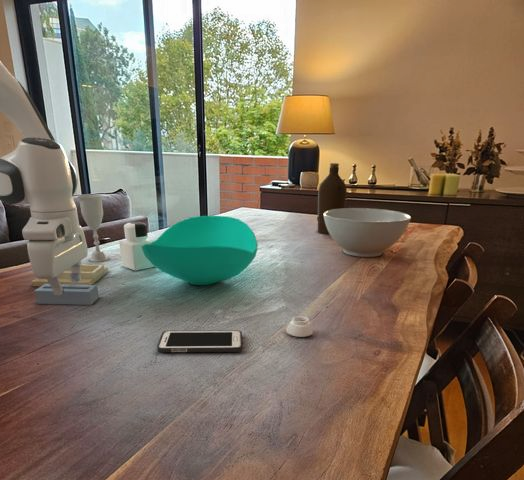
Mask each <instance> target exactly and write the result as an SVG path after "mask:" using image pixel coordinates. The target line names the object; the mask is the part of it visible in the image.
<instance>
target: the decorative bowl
mask: <svg viewBox="0 0 524 480" xmlns="http://www.w3.org/2000/svg"><path fill="white" fill-rule="evenodd" d="M411 219H412V217H411V216H410V214H408V213H405V212H401V211H396V210H391V209H383V208H382V209H381V208H370V207H369V208H367V207H346V208H341V209H332V210H328V211H325V212H324V220H325V224H326V227H327V229H328V232H329V234H328V235H330V237H331V239H332V240H333V241H334V242H335V243H336V244H337V245H338V246H339V247H341V248H342V249H343V250H342V251H343V253H344V254H346V255H349V256H353V257H358V258H359V257H361V258H374V257H375V258H376V257H379V256H382V255H383V252H384V251H386V250H388V249H390V248H391V247H392V246H394V245H395V244H396V243H397V242H398V240H400V239H401V238H402V236H404V233H405V232H406V230H407V228H408V227H409V224H410V222H411Z"/></svg>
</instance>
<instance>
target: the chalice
mask: <svg viewBox="0 0 524 480" xmlns="http://www.w3.org/2000/svg"><path fill="white" fill-rule="evenodd" d="M76 197H77V199H78V200H79V206H80V212H81V213H80V214H81V217H82V218H83V220H84V222H85V224H86V226H87V227H88V228H89V229H90V230H92V232H93V235H92V238H93V239H94V242H93V245H95V249H94V251H92V253H91V256H90V259H89V260H90V262H104V261H107V260H109V258H108V257H107V255H106V253H105V252H104V251H103V250H101V248H100V243H101V242H100V241H99V235H98V230H99V229H100V228H101V225H102V222H103V218H104V209H103V208H104V207H103V200H102V199H103V197H104V196H103V195H102V194H80V195H77V196H76Z"/></svg>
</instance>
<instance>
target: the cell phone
mask: <svg viewBox="0 0 524 480" xmlns="http://www.w3.org/2000/svg"><path fill="white" fill-rule="evenodd" d="M156 350H157V352H159V353H231V352H232V353H237V352H241V351H242V350H243V332H242V331H241V330H238V329H235V330H233V329H231V330H229V329H226V330H224V329H221V330H220V329H219V330H218V329H217V330H215V329H214V330H213V329H212V330H209V329H207V330H205V329H204V330H163V331H162V333H161V335H160V338H159V340H158V343H157V346H156Z"/></svg>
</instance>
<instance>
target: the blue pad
mask: <svg viewBox="0 0 524 480" xmlns="http://www.w3.org/2000/svg"><path fill="white" fill-rule="evenodd" d="M61 285H63V286H64V293H63V294H61V295H54V294H53V289H52V287H51V285H50V284H44V285H42V286H38V288H36V289H34V296H35V301H36V304H37V305H73V306H75V305H76V306H78V305H80V306H81V305H82V306H83V305H86V306H91V305H93V304H94V303H96V301H97V300H98V299H100V295H99V287H98V284H93V285H70V284H61Z"/></svg>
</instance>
